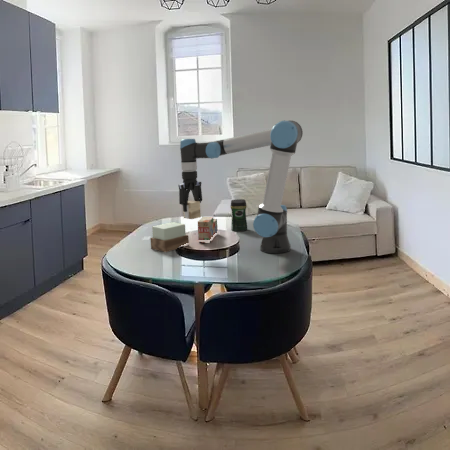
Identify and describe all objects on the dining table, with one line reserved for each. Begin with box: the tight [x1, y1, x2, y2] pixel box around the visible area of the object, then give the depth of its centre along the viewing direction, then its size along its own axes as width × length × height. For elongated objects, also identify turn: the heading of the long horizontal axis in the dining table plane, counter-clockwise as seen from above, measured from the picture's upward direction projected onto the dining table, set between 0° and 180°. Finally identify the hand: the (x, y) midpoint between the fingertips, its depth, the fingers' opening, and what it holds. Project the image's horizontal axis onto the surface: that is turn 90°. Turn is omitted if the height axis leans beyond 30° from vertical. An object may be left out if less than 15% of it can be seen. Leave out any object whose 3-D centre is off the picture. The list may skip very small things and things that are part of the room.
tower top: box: [151, 221, 187, 240], centre depth 263 cm, size 10×14×6 cm
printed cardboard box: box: [197, 216, 219, 240], centre depth 280 cm, size 21×6×12 cm, turn 168°
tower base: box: [150, 234, 190, 253], centre depth 264 cm, size 12×16×6 cm
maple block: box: [182, 200, 202, 220], centre depth 249 cm, size 6×6×8 cm
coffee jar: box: [230, 198, 248, 232], centre depth 298 cm, size 10×8×19 cm
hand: (191, 216), depth 250 cm, fingers closed on maple block, 6 cm apart
